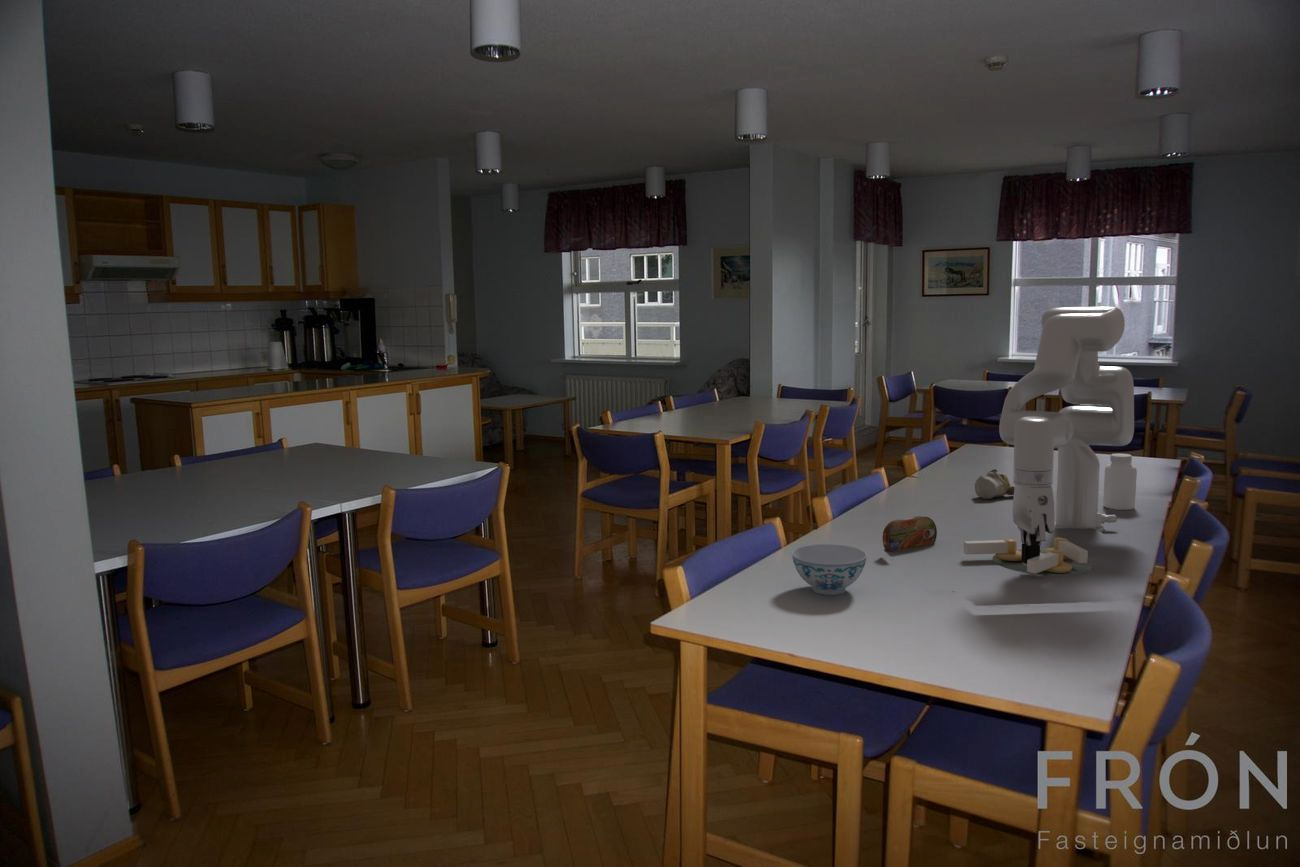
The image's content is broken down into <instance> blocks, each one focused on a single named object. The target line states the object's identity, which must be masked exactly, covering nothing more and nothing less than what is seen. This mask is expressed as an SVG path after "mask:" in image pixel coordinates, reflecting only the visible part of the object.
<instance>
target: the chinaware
mask: <svg viewBox="0 0 1300 867" xmlns="http://www.w3.org/2000/svg"><path fill="white" fill-rule="evenodd" d="M791 557H792V560H793V564H794V567H795V570H796V571H797V573H798V575H799V576H800V577H801V579H802V580H803V581H804V582H805V583H806V584H808V585H809V586H811V587H812V588H811V589H812V591H813V592H814V593H816V594H819V595H826V596H836V595H841V594H844V593H845V592H846V589H847V588H848V587H849V586H851V585H853V584H854V583H855V582H856V581H857V580H858V579H859V577H860V576H861V574H862V572H863V570H864V568H865V565H866V561H867V559H868V558H867V557H868V555H867V553H866V552H865V551H864V550H862V549H860V548H857V547H854V546H849V545H843V544H832V543H830V544H829V543H827V544H826V543H821V544H819V543H818V544H810V545H809V544H807V545H802V546H800V547H797V548H794V550H792V551H791Z"/></svg>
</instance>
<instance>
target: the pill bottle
mask: <svg viewBox="0 0 1300 867" xmlns="http://www.w3.org/2000/svg"><path fill="white" fill-rule="evenodd" d="M1109 457H1110V459H1109V460H1110V463H1107V464H1106V466H1105V468H1104V479H1103V482H1104V483H1103V496H1102V497H1103V500H1102V505H1103V507H1104V508H1107V509H1111V510H1116V511H1117V510H1118V511H1129V510H1134V509H1135V507H1136V506H1135V505H1136V495H1137V494H1136V492H1137V479H1138V478H1137V476H1138V470H1137V466H1135V465H1134V464H1132V463H1133V461H1132V460H1133V455H1132V454H1129V453H1118V452H1117V453H1112V454H1110V456H1109Z"/></svg>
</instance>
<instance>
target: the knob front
mask: <svg viewBox="0 0 1300 867" xmlns="http://www.w3.org/2000/svg"><path fill="white" fill-rule="evenodd" d="M1041 571H1048V572H1053V573H1068V572H1071V571H1072V565H1071V564H1069V563H1067V562H1063V551H1061V550H1050V552H1048V553H1046V554H1043V555H1040V556H1037V557H1034V558H1031V559H1029V560H1027V572H1030V573H1029V574H1031V573H1035V574H1034V575H1037V574H1036V573H1038V572H1041Z"/></svg>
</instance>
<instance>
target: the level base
mask: <svg viewBox="0 0 1300 867" xmlns="http://www.w3.org/2000/svg"><path fill="white" fill-rule="evenodd" d="M1017 550H1018V551H1021V552H1022V549H1017ZM1043 554H1045V550H1044V549H1043V550H1042V549H1040V555H1043ZM992 560H993V562H994V564H996V565H998V566H1000V567H1002V568H1005V569H1009V570H1012V571H1014V572H1015V571H1016V572H1021V573H1024V574H1025V573H1026V574H1032V575H1040V576H1073V575H1075V576H1076V575H1080V574H1081V575H1082V574H1085V573H1087V572H1090V571H1092V569H1093V564H1092V563H1091V562H1090V561H1089V560H1087V563H1078V562H1076V561H1074V560H1072V559H1063V562H1067V563H1069V564H1071V565H1072V571H1071V572H1068V573H1053V572H1048V571H1041V572H1038V573H1036V574H1035V573H1030V572H1027V564H1025V563H1024V562H1022V560H1020V561H1007V560H1001V559H998V558H996V557H995V554H994V555H993V556H992Z"/></svg>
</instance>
